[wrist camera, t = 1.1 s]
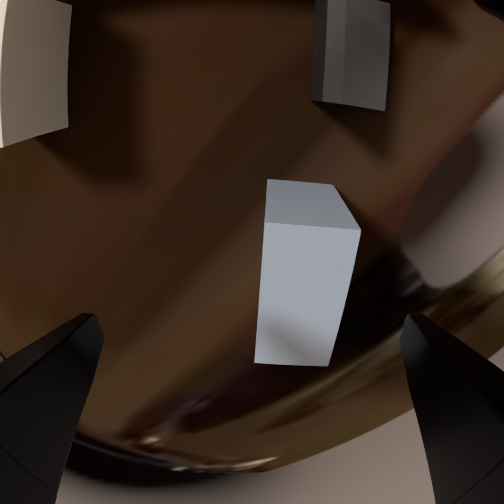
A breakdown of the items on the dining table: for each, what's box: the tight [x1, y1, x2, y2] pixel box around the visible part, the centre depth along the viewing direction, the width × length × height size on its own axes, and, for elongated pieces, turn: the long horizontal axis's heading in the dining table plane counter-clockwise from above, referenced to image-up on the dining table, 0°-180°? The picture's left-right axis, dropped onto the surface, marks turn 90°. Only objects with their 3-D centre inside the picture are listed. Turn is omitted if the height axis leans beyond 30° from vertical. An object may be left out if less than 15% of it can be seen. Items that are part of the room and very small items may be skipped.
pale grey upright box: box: [255, 179, 361, 366], centre depth 18 cm, size 4×8×7 cm, turn 177°
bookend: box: [310, 0, 390, 111], centre depth 13 cm, size 4×7×5 cm, turn 177°
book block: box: [0, 0, 72, 148], centre depth 13 cm, size 4×9×7 cm, turn 177°
